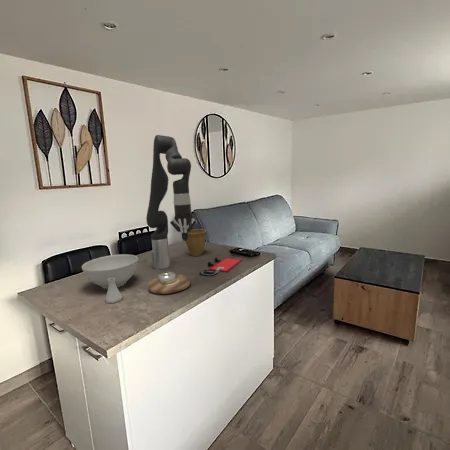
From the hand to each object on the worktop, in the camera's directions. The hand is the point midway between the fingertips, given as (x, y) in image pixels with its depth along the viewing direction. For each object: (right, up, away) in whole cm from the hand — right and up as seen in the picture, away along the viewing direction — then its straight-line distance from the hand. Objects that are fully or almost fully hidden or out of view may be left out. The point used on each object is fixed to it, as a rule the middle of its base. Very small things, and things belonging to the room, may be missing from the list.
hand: (185, 240), depth 136 cm
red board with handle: (+16, -18, +31) cm, 39 cm away
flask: (-31, -27, -6) cm, 41 cm away
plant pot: (-1, -13, +60) cm, 61 cm away
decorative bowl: (-39, -23, +14) cm, 47 cm away
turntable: (-8, -23, +6) cm, 25 cm away
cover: (-9, -20, +6) cm, 23 cm away
